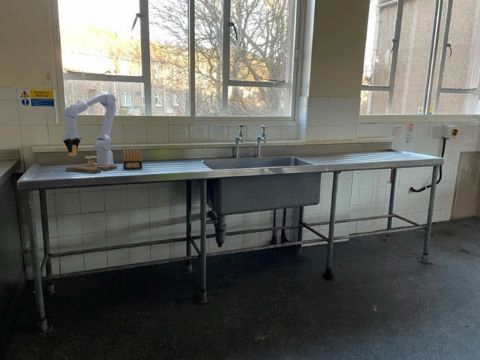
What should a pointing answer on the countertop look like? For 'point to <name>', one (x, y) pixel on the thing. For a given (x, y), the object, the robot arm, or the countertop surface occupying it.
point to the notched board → (91, 168)
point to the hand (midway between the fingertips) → (72, 152)
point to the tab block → (73, 151)
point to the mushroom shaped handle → (91, 161)
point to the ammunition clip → (132, 160)
